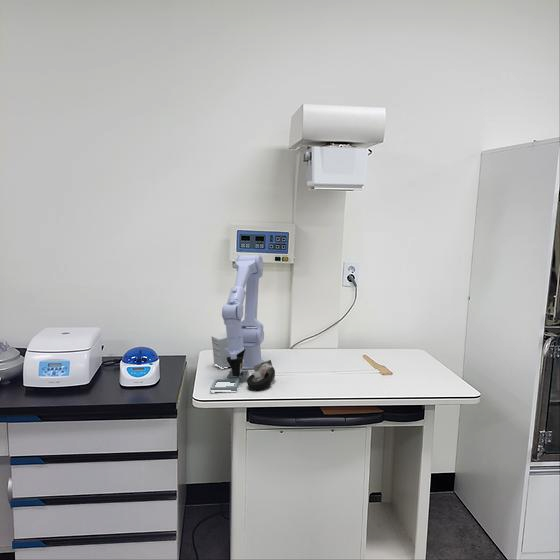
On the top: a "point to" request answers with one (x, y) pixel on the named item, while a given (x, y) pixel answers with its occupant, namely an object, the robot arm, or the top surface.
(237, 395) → the top surface
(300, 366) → the top surface
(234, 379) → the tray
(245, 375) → the tensioner block
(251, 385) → the caster wheel
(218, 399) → the top surface
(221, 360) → the grey box
